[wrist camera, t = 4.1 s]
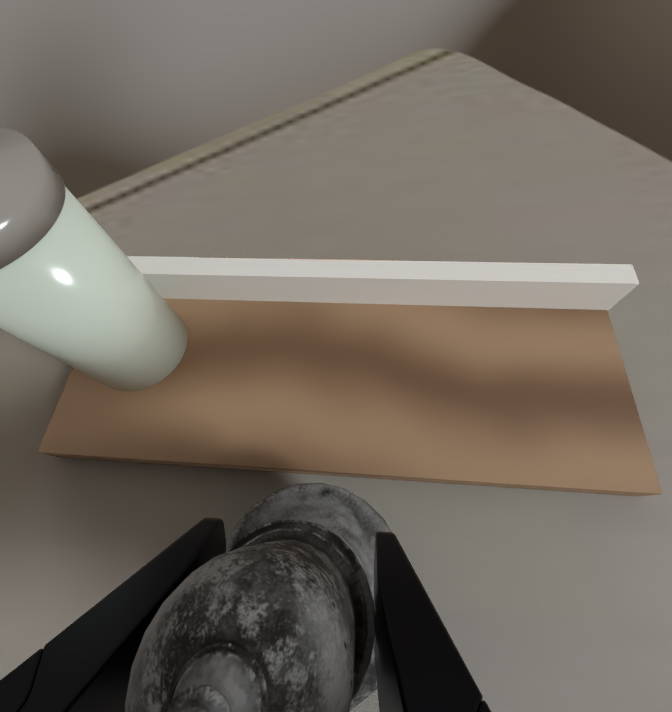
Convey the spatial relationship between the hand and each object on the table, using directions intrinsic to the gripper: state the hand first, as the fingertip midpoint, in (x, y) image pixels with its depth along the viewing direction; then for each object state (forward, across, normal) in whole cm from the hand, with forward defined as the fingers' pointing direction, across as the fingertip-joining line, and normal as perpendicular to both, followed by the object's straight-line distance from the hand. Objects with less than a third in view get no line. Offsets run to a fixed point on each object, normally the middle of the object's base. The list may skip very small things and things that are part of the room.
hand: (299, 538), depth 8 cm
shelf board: (+9, 0, 0) cm, 9 cm away
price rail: (+12, 0, -3) cm, 13 cm away
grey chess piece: (+4, 0, +6) cm, 7 cm away
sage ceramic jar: (+9, +10, -1) cm, 13 cm away
